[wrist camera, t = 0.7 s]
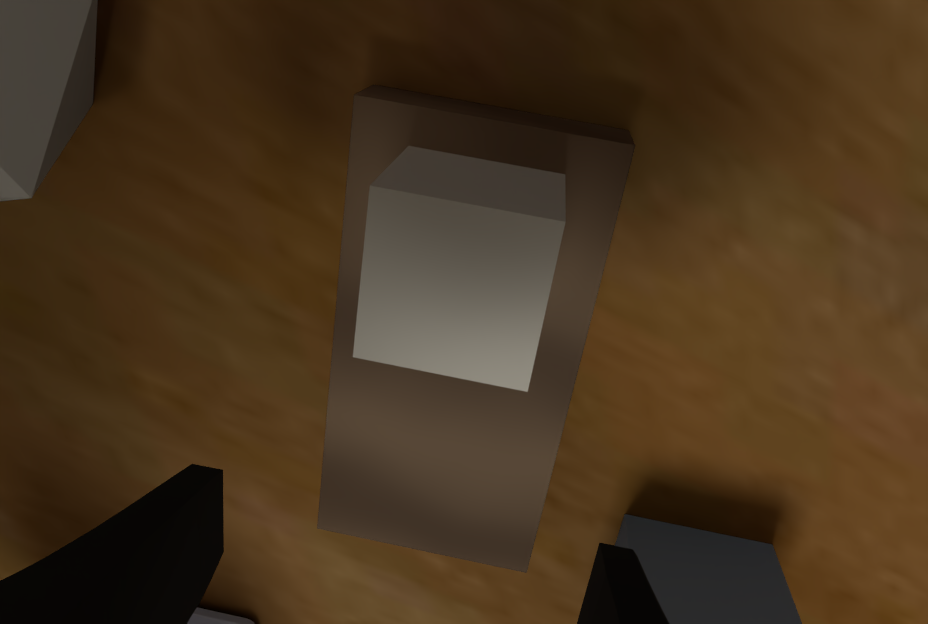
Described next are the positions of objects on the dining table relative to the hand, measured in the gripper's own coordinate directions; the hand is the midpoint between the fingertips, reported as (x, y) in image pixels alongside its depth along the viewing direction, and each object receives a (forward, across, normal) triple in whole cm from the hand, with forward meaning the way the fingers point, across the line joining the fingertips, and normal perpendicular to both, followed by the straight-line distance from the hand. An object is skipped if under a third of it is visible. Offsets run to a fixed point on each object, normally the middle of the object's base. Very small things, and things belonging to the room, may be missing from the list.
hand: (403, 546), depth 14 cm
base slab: (+10, 0, 0) cm, 10 cm away
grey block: (+8, 0, -4) cm, 8 cm away
